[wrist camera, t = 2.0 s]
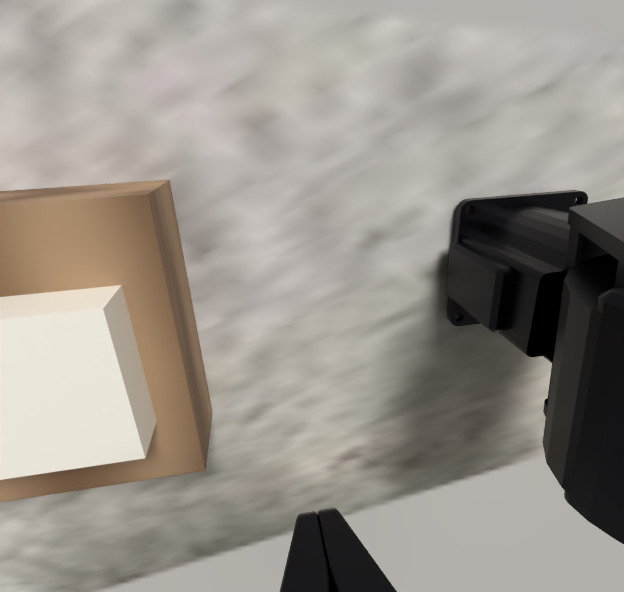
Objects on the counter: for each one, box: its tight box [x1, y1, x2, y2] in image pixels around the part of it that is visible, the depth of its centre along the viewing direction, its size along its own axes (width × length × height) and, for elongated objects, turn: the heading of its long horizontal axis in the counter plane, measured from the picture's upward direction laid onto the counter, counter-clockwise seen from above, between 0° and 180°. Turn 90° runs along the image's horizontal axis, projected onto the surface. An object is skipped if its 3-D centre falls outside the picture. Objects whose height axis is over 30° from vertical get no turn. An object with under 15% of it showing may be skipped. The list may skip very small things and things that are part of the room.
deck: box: [0, 180, 212, 502], centre depth 17 cm, size 11×12×4 cm
